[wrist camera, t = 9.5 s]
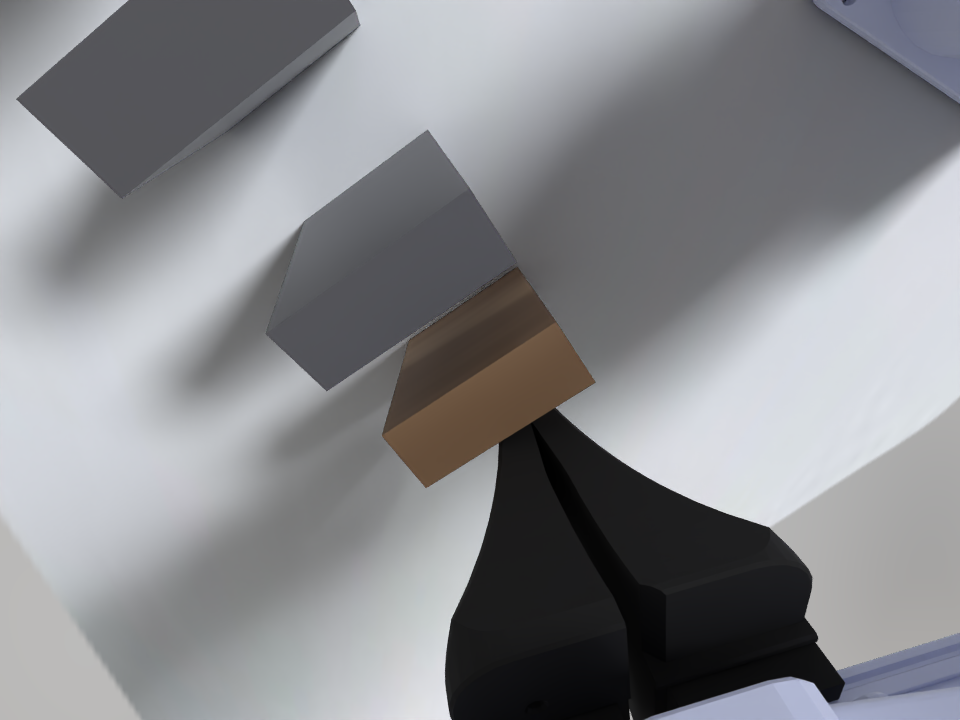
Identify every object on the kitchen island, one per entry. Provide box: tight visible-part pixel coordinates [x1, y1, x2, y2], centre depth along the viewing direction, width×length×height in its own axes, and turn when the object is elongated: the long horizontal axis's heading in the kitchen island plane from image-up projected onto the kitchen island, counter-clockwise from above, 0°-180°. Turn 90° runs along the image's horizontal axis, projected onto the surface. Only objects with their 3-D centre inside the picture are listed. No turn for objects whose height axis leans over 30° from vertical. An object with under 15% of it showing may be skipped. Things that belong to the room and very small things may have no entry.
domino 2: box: [266, 130, 517, 391], centre depth 12 cm, size 2×4×7 cm, turn 123°
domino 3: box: [382, 267, 595, 488], centre depth 14 cm, size 2×4×7 cm, turn 122°
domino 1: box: [16, 0, 360, 198], centre depth 10 cm, size 2×4×7 cm, turn 122°
